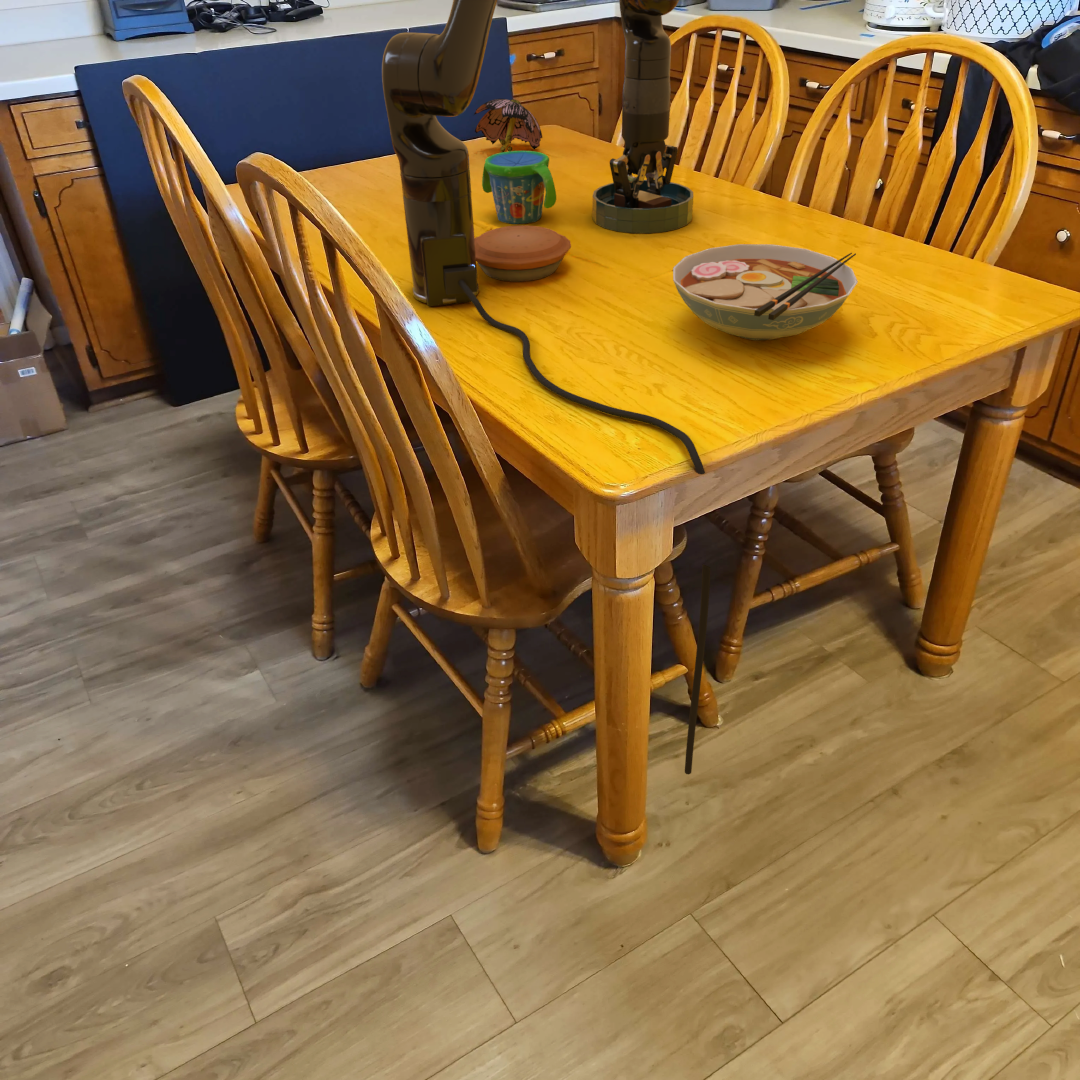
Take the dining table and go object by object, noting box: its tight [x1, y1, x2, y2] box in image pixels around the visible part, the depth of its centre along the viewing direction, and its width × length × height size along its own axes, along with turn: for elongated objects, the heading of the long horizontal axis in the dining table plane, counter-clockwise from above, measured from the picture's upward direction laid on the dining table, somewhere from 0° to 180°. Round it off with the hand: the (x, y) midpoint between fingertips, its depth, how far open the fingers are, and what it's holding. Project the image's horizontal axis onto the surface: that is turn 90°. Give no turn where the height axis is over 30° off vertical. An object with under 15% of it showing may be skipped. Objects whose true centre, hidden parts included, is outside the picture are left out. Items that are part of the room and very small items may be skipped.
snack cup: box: [481, 150, 557, 225], centre depth 159 cm, size 16×10×10 cm
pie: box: [474, 225, 572, 283], centre depth 142 cm, size 15×16×5 cm
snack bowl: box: [591, 179, 694, 234], centre depth 159 cm, size 17×17×4 cm
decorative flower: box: [473, 98, 544, 153], centre depth 196 cm, size 15×12×15 cm
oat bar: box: [614, 188, 672, 208], centre depth 159 cm, size 9×4×4 cm, turn 41°
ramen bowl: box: [672, 243, 858, 341], centre depth 121 cm, size 25×23×8 cm
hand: (642, 215), depth 160 cm, fingers closed on oat bar, 4 cm apart
